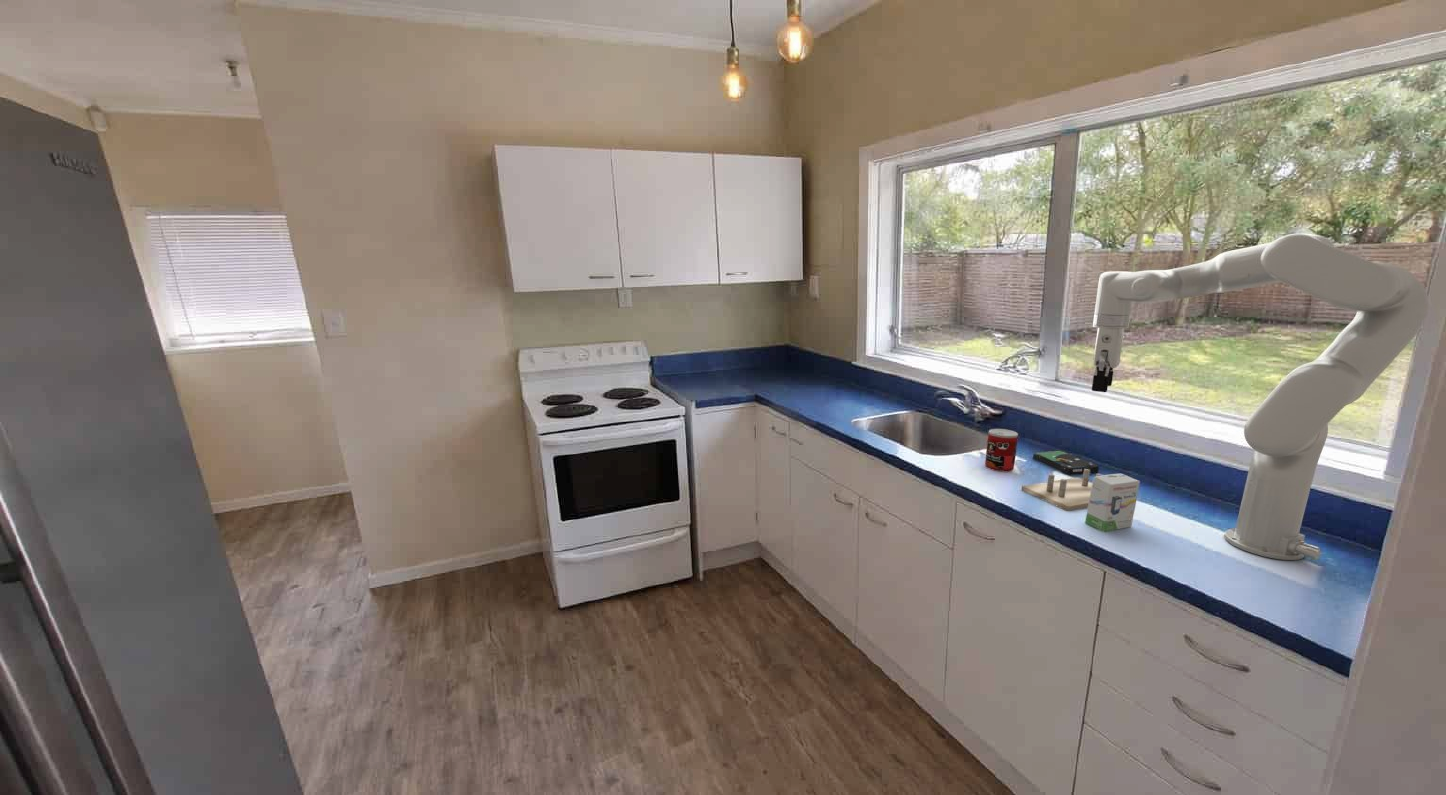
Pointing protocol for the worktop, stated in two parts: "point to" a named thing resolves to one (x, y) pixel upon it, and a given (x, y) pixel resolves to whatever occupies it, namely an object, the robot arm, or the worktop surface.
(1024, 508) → the worktop surface
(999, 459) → the canned food
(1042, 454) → the disk drive
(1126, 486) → the ink box
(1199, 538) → the worktop surface
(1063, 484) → the pin tray
